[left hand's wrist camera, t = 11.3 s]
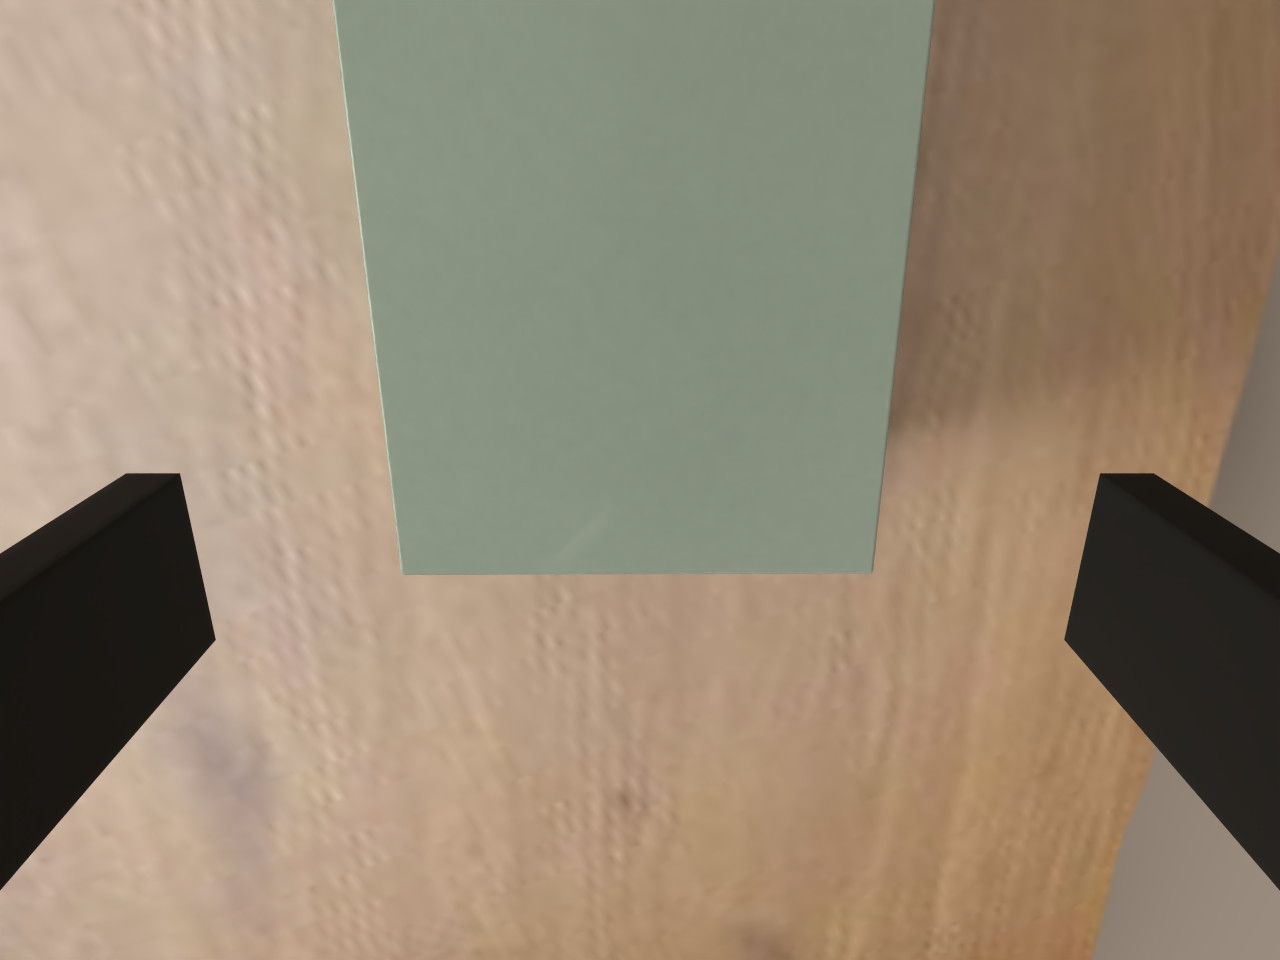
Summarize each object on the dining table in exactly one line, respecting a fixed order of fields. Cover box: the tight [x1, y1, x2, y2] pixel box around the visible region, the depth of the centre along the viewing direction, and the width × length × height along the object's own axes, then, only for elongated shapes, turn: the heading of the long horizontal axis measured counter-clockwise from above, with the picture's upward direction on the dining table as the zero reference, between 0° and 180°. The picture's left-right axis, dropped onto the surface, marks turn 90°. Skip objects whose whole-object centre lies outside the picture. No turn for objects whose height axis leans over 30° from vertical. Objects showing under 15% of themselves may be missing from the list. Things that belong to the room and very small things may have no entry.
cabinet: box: [332, 0, 935, 575], centre depth 21 cm, size 20×11×8 cm, turn 0°
